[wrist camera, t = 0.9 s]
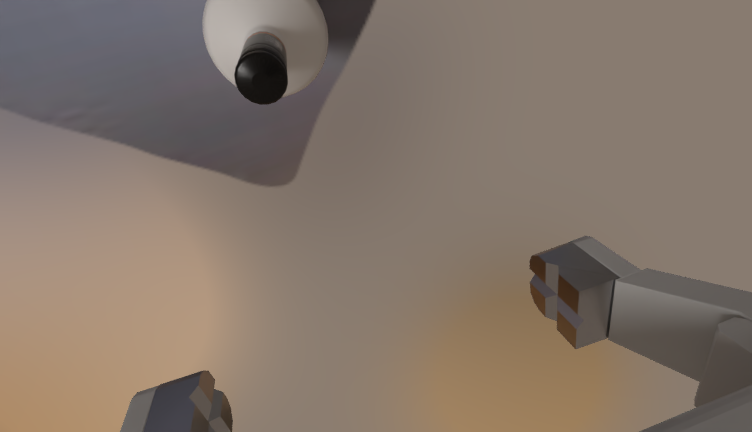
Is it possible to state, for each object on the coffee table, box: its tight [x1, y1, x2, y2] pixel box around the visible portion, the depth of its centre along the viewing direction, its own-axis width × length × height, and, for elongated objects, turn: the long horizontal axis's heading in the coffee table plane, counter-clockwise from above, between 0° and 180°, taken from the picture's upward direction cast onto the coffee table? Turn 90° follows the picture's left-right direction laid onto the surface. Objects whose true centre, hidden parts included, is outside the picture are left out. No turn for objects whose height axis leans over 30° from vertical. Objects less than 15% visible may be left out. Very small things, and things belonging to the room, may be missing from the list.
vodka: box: [203, 0, 329, 104], centre depth 31 cm, size 9×9×30 cm
